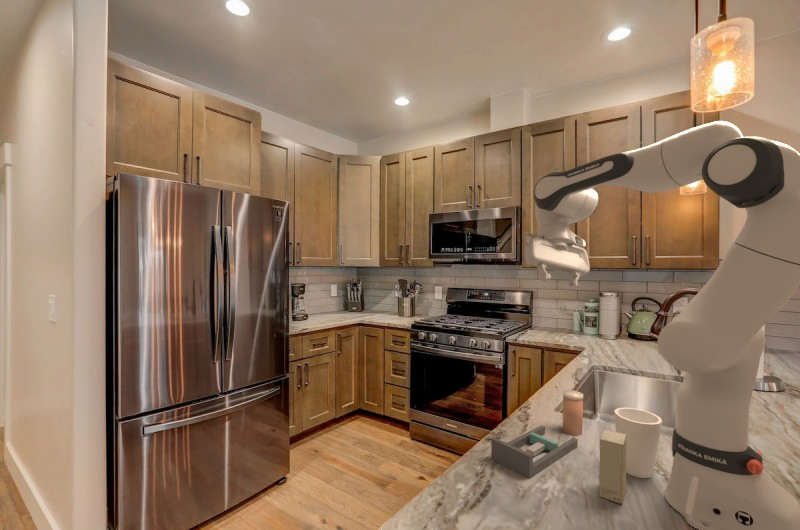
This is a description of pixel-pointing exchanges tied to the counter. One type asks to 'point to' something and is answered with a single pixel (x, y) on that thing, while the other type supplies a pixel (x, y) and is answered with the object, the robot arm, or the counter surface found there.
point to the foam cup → (639, 439)
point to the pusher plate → (540, 444)
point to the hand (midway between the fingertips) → (560, 284)
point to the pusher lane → (527, 454)
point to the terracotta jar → (572, 412)
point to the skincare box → (612, 466)
